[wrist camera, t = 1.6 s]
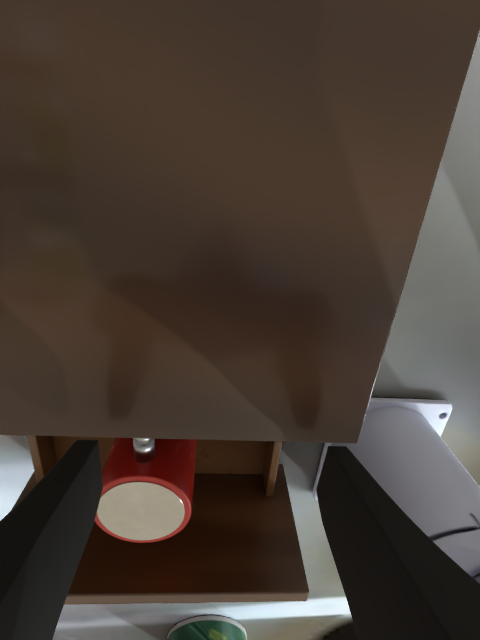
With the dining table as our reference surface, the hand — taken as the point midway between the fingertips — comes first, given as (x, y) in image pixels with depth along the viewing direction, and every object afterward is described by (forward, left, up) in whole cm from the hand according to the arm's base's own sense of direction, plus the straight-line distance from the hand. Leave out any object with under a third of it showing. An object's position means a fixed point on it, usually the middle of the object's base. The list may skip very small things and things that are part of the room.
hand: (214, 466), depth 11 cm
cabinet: (+6, +3, -10) cm, 13 cm away
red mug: (-6, +3, -9) cm, 11 cm away
